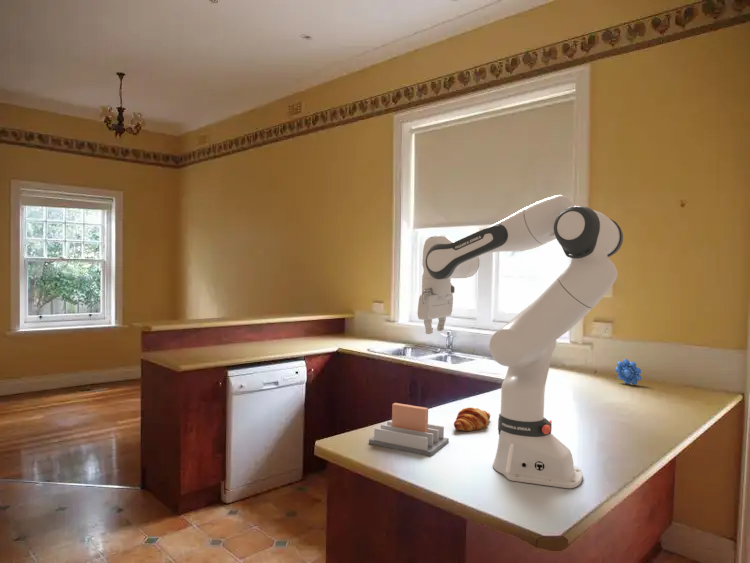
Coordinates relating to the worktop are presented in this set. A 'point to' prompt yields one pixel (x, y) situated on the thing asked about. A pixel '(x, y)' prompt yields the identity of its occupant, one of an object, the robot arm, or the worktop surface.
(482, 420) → the croissant
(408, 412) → the plate tile
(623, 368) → the blue knobbly flower
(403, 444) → the dish rack
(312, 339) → the worktop surface
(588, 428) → the worktop surface
